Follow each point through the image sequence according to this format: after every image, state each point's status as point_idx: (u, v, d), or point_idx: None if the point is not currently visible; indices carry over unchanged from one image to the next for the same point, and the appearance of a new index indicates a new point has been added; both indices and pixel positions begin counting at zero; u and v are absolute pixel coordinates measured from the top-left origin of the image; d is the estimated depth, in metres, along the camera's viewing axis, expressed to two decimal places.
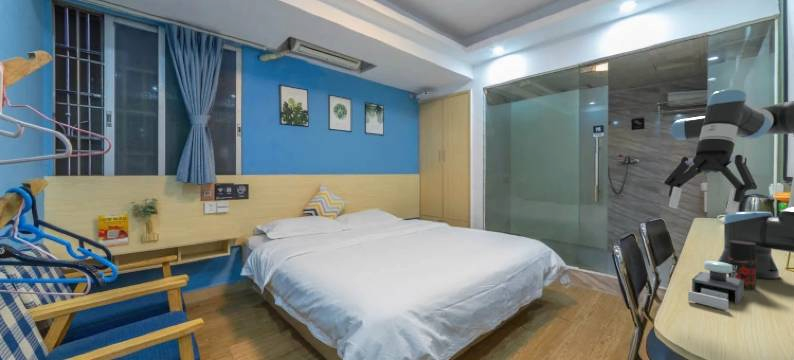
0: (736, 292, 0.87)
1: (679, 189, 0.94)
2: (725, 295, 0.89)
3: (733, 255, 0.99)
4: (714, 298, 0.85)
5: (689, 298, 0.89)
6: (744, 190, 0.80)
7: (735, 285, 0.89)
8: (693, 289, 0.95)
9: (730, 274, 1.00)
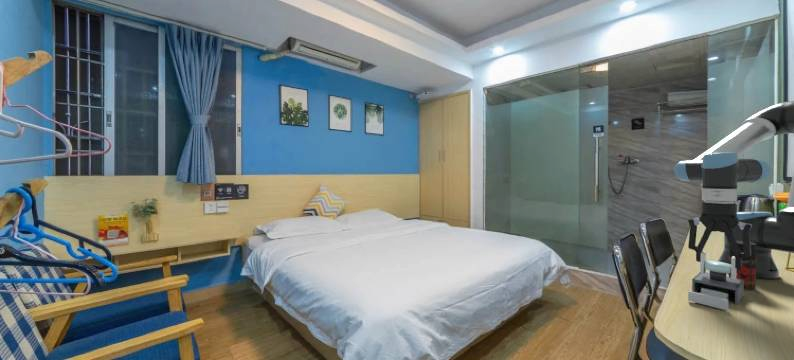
0: (736, 292, 0.87)
1: (705, 253, 0.96)
2: (725, 295, 0.89)
3: (733, 255, 0.99)
4: (714, 298, 0.85)
5: (689, 298, 0.89)
6: None
7: (735, 285, 0.89)
8: (693, 289, 0.95)
9: (730, 274, 1.00)
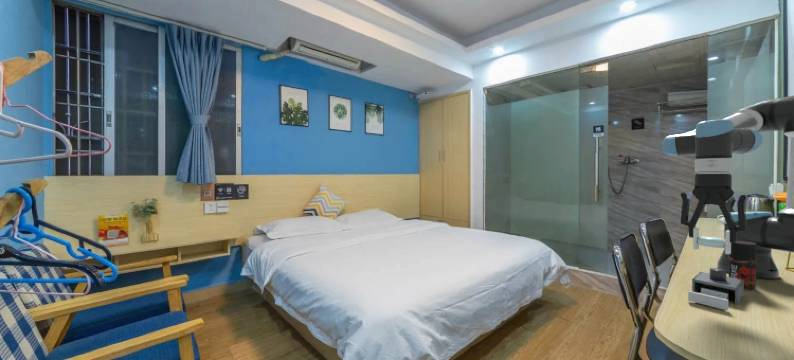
0: (736, 292, 0.87)
1: (698, 229, 0.91)
2: (725, 295, 0.89)
3: (733, 255, 0.99)
4: (714, 298, 0.85)
5: (689, 298, 0.89)
6: (737, 231, 0.84)
7: (735, 285, 0.89)
8: (693, 289, 0.95)
9: (730, 274, 1.00)
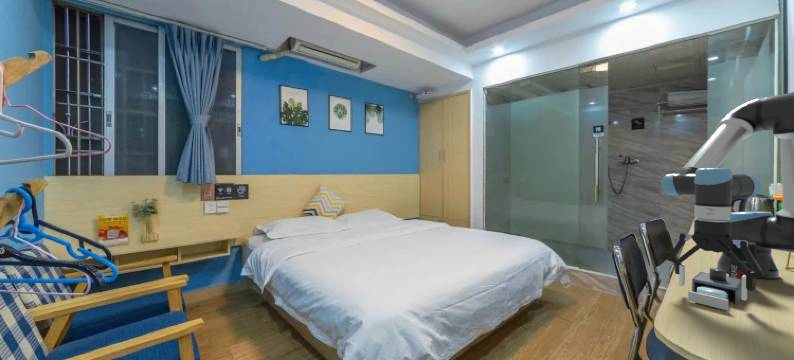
0: (736, 292, 0.87)
1: (684, 266, 0.94)
2: None
3: None
4: (714, 298, 0.85)
5: (689, 298, 0.89)
6: (753, 277, 0.82)
7: (735, 285, 0.89)
8: (693, 289, 0.95)
9: (730, 274, 1.00)
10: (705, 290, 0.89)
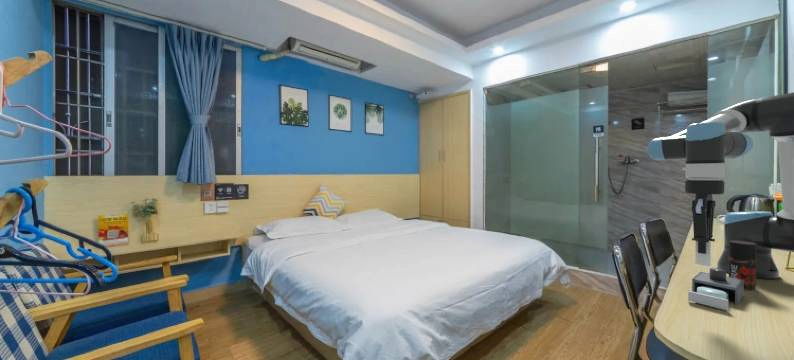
0: (736, 292, 0.87)
1: None
2: None
3: (733, 255, 0.99)
4: (714, 298, 0.85)
5: (689, 298, 0.89)
6: (701, 242, 0.81)
7: (735, 285, 0.89)
8: (693, 289, 0.95)
9: (730, 274, 1.00)
10: (705, 290, 0.89)
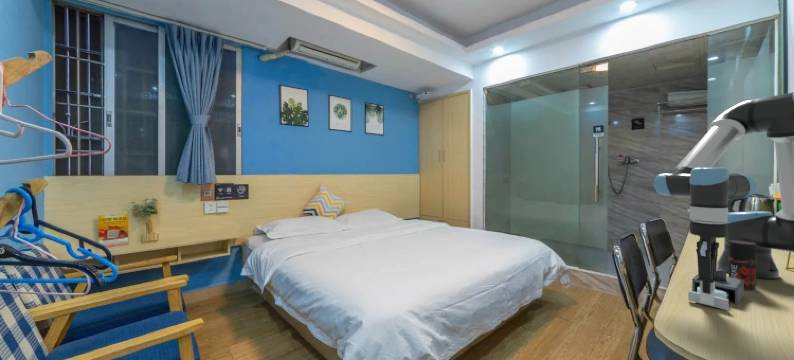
0: (736, 292, 0.87)
1: None
2: None
3: (733, 255, 0.99)
4: None
5: (689, 298, 0.89)
6: (705, 282, 0.84)
7: (735, 285, 0.89)
8: (693, 289, 0.95)
9: (730, 274, 1.00)
10: None
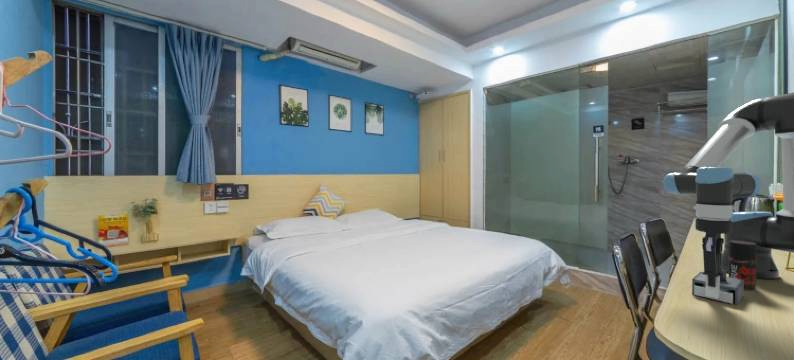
0: (736, 292, 0.87)
1: None
2: None
3: (733, 255, 0.99)
4: None
5: (695, 292, 0.93)
6: (711, 276, 0.88)
7: (735, 285, 0.89)
8: (693, 289, 0.95)
9: (730, 274, 1.00)
10: None
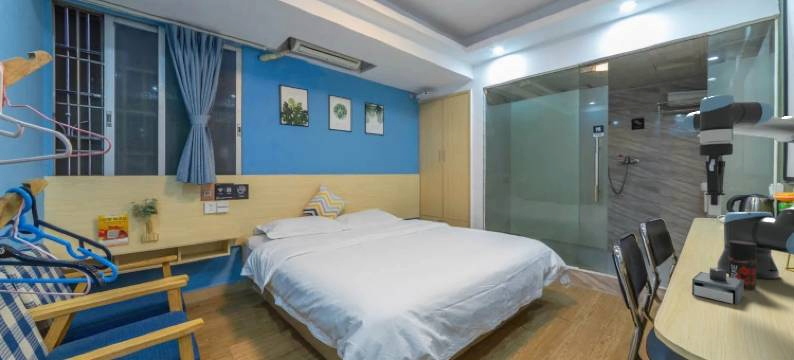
0: (736, 292, 0.87)
1: None
2: None
3: (733, 255, 0.99)
4: (719, 292, 0.89)
5: (695, 292, 0.93)
6: (713, 195, 0.97)
7: (735, 285, 0.89)
8: (693, 289, 0.95)
9: (730, 274, 1.00)
10: (711, 285, 0.93)
